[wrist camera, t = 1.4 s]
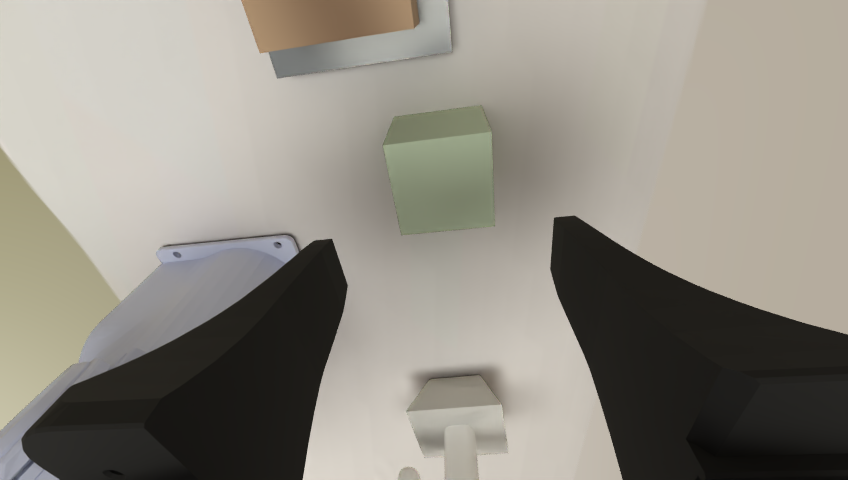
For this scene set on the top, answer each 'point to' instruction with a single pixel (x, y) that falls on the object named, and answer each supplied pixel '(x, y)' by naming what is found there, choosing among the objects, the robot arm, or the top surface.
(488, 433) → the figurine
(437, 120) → the green cube
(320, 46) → the base tile
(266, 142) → the top surface
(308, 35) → the walnut block
